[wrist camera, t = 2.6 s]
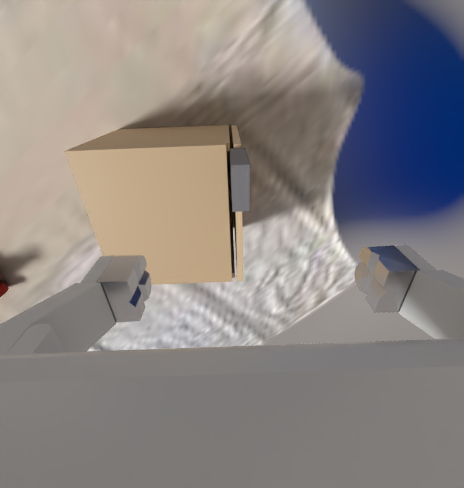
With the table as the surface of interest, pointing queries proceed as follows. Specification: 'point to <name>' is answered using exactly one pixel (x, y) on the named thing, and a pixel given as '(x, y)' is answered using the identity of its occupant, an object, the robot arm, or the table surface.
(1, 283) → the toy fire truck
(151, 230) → the carton
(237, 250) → the carton flap
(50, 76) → the table surface
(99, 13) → the table surface
